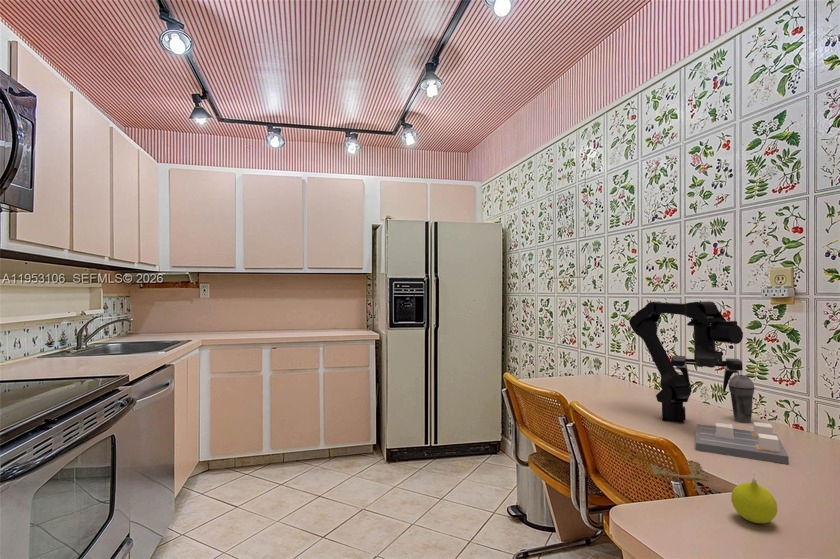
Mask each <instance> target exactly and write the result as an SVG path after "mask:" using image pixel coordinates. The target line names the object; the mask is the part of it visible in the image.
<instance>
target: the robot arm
mask: <svg viewBox="0 0 840 559" xmlns="http://www.w3.org/2000/svg"><path fill="white" fill-rule="evenodd" d="M662 314H668V315H669V314H670V315H681V316H685V317H687V318H690V319H691V320H690V321H688V322H687V323H686V326H688V327H693V347H694V350H693V351H694V353H693V357H694V358H687V357H686V355H673V356H671V358H670V357H669V356H668V353H667V352H666V349H665V348H664V346H663V344H662V342H661V340H660V338H659V336H658V325H657V322H658V321H659V320H660V319H661V315H662ZM629 325H630V328H631V329H632V331H633V332H634V334H635V335H637V336H638V337H639V338H640V339H642V341H643V343H644V344H645V346H646V348H647V350H648V353H649V354H650V357H651V358H652V360H653V363H654V364H655V367H656V368H657V370H658V372H659V375H660V381H659V382H660V383H659V384H660V388H661V390H660V391H659V392H658V393H657V394H656V395H655V397H656V400H657V403H660V404H661V415H662V416H661V421H662V422H671V423H678V424H679V423H680V424H684V423H685V421H686V417H687V416H686V415H687V414H686V406H684V403H688V402H689V398H690V396H691V394H692V392H693V391H692V387H691V386H692V384H691V382H690V375H689V369H688V365H691V366H693V365H694V366H696V367H698V368H705V367H706V368H709V369H710V368H712V369H713V368H716V367H724V373H723V382H722V383H723V384H722V390H723V392H724V393H725V392H726V390H727V386H728V385H729V381H730V379H731V378H732V377H733V374H738V373H737V370H739V372H741V371H743V362H742V360H740V359H739V358H727V357H726V358H725V360H723V352H722V351H720V350H719V351H717V350H716V343H725V344H731V345H738V344H740V343H741V342H742V340H743V337H744V332H743V330H742V328H741V326H739V325H738V321H737V320H727V319H726V317H724V315H723V314H722V313H721V310H719V309H718V307H717V305H716V303H715V302H714V301H692V302H685V303H678V302H677V303H676V302H662V301H649V302H648V303H646V305H645V306H644V307H643V308H641V309H640V310H638V311H636V313H634V315H632V316H631V317H630V320H629ZM676 369H677V370H680V372H681V374H680V373H678V371H676Z"/></svg>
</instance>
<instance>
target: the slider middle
mask: <svg viewBox="0 0 840 559" xmlns="http://www.w3.org/2000/svg"><path fill="white" fill-rule="evenodd" d="M715 426H716V437H723V438H731V439H733V429H734V427H733V424H731V423H723V422H715Z"/></svg>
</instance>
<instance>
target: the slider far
mask: <svg viewBox="0 0 840 559" xmlns="http://www.w3.org/2000/svg"><path fill="white" fill-rule="evenodd" d="M753 431H754V433H755V436H758V433H759V434H767V435H773V434H774V428H773V426H772V423H765V422H758V421H753Z"/></svg>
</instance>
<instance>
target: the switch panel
mask: <svg viewBox="0 0 840 559" xmlns="http://www.w3.org/2000/svg"><path fill="white" fill-rule="evenodd" d="M695 428H696V429H695V450H696V451H699V450H700V451H701V452H705V451H706V452H705V453H712V454H720V455H725V456H733V457H739V458H745V459H752V460H758V461H765V462H770V463H771V462H772V463H778V464H782V465H783V464H784V465H790V461H789V460H790V458H789V455H788V453H787V451H786V449H785V447H784V445H783V443H782V441H781V439H780V437H779V435H778V434H777V433H773V435H775V436H777V437H778V439H779V452H778V451H771V450H764V449H760V447H759V445H758V436H755V433H754V430H746V429H739V428H738V429H736V428H733V439H731V438H723V437H716V425H715V426H713V425H709V424H708V425H707V424H699V423H696V425H695Z"/></svg>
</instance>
